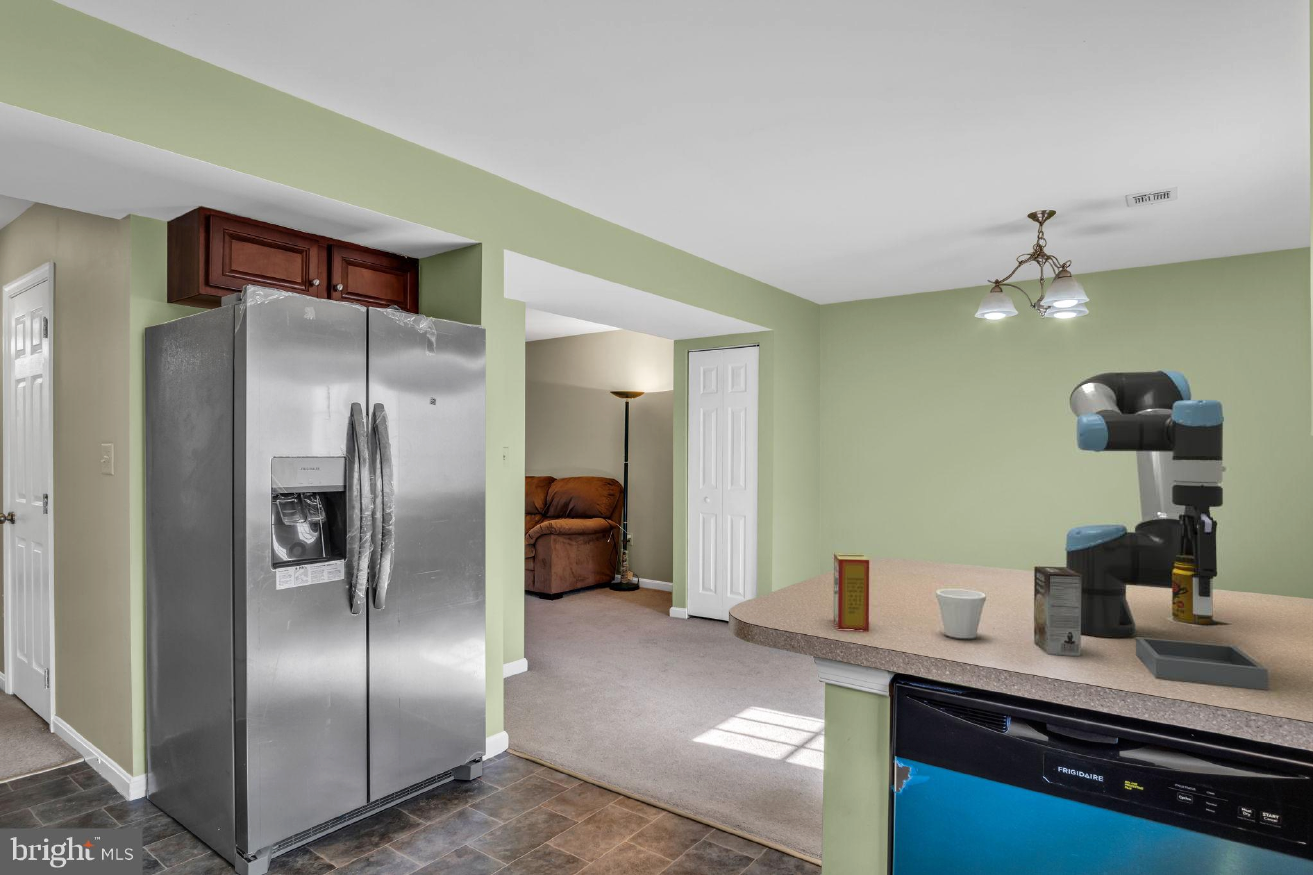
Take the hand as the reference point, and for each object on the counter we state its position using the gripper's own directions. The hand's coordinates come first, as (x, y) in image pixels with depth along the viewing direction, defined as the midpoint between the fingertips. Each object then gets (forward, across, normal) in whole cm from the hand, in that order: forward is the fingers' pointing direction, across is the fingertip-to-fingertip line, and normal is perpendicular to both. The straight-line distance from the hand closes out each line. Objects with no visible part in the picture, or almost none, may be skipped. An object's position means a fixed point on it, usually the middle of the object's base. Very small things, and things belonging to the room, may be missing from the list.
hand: (1196, 610), depth 136 cm
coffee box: (+11, +6, +22) cm, 25 cm away
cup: (+11, +9, +40) cm, 43 cm away
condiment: (+2, 0, 0) cm, 2 cm away
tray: (+11, 0, 0) cm, 11 cm away
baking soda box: (+11, +9, +63) cm, 65 cm away
